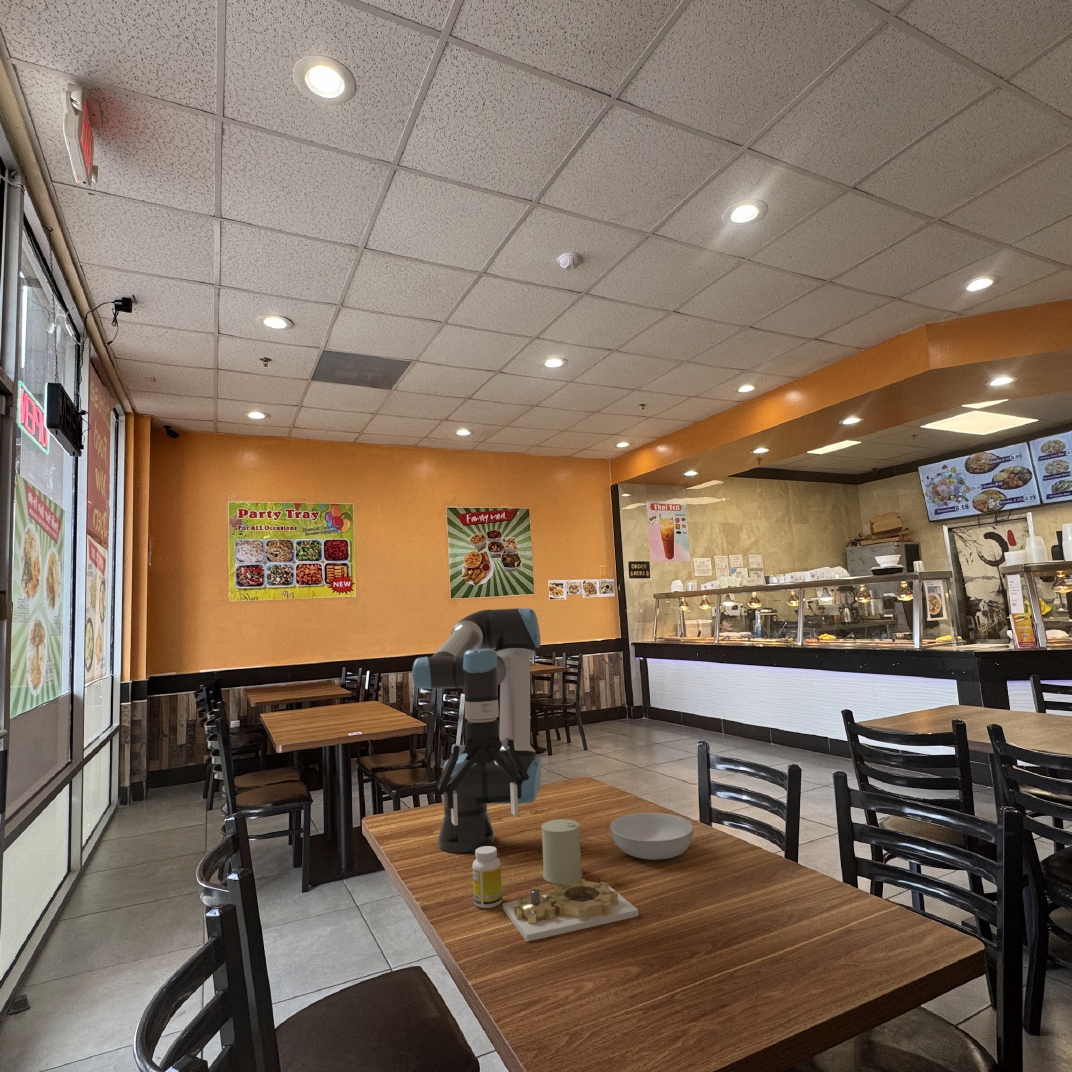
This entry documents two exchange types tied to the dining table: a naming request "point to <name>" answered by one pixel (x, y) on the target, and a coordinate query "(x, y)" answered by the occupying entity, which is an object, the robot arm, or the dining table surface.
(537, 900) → the gear
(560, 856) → the can
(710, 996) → the dining table surface
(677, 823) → the serving bowl
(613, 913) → the gear board
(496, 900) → the pill bottle
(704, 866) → the dining table surface
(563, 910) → the gear
